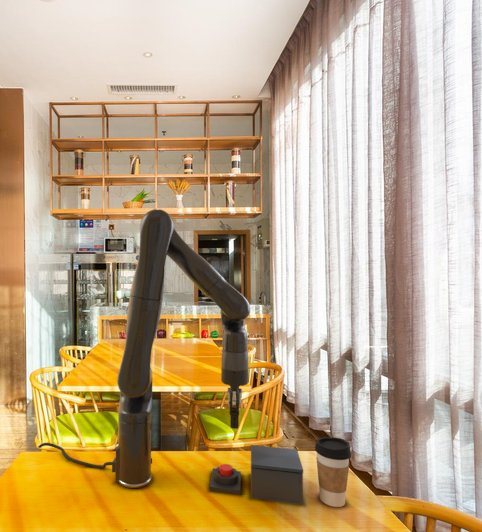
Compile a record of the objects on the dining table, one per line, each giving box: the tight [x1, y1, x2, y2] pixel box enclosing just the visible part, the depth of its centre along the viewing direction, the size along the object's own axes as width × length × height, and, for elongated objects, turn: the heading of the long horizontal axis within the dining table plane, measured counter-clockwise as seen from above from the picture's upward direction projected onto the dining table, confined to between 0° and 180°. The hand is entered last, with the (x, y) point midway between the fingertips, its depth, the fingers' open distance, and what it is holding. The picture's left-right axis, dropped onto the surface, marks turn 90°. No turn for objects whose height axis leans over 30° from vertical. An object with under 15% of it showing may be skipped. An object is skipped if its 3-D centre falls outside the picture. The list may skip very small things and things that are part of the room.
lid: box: [250, 444, 304, 474], centre depth 106 cm, size 12×13×1 cm
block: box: [209, 466, 242, 496], centre depth 109 cm, size 8×10×3 cm
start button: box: [218, 463, 234, 476], centre depth 109 cm, size 4×4×2 cm
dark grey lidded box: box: [250, 466, 304, 506], centre depth 107 cm, size 12×13×8 cm
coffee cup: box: [314, 436, 352, 508], centre depth 102 cm, size 8×8×15 cm
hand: (234, 427), depth 112 cm, fingers closed
